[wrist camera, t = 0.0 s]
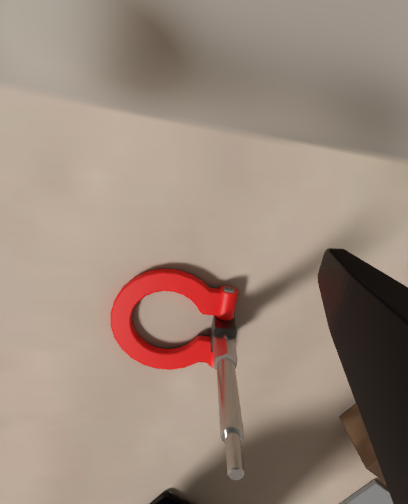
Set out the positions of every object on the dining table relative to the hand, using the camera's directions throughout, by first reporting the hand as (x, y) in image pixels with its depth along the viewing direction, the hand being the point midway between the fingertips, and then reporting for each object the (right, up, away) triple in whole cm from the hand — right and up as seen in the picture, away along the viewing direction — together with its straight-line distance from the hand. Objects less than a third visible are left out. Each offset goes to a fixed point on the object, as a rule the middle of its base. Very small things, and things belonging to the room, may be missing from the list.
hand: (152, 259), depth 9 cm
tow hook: (-1, -5, +19) cm, 19 cm away
